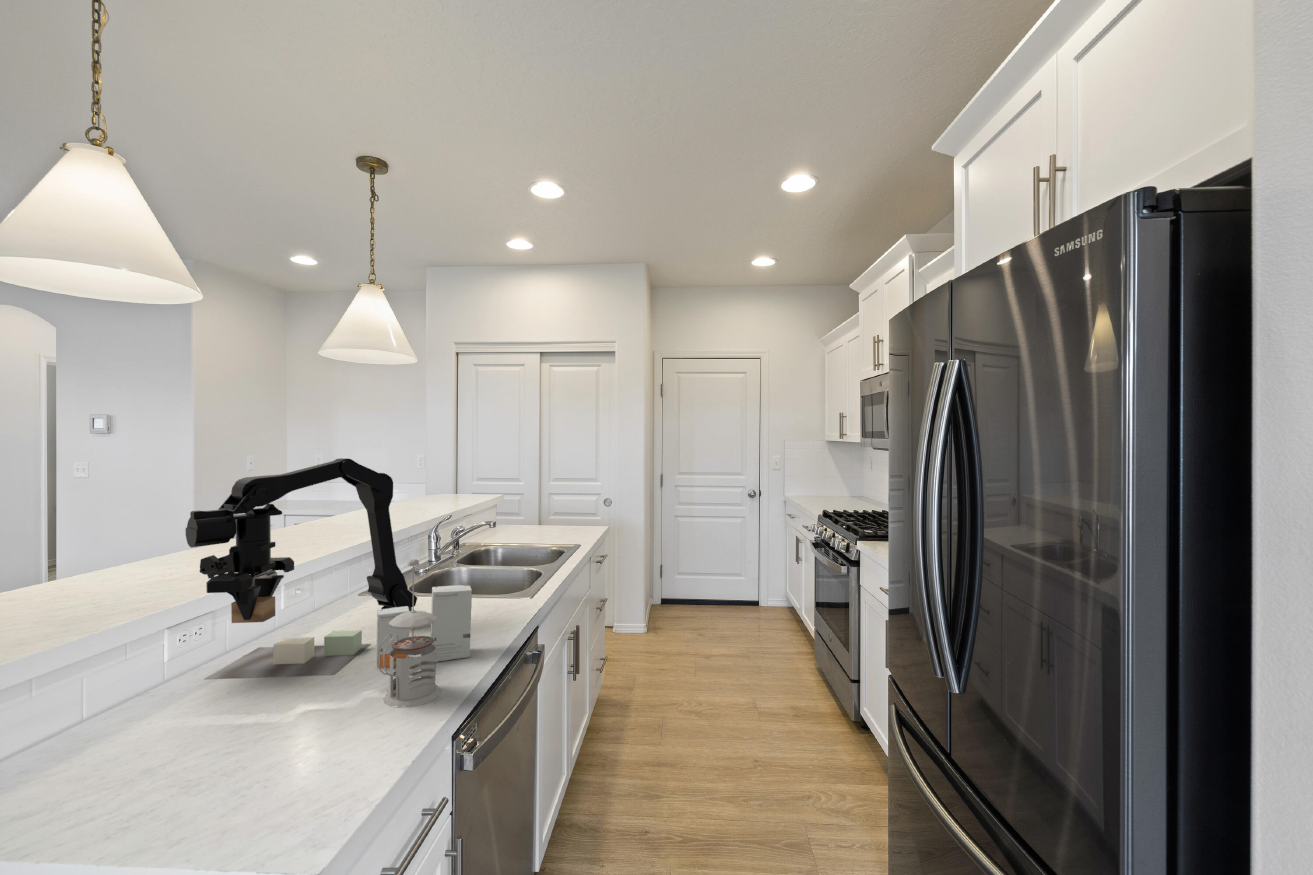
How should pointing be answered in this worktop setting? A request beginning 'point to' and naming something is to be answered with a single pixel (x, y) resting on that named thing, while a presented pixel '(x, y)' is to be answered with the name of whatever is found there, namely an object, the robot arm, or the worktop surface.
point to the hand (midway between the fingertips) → (254, 616)
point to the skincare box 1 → (384, 629)
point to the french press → (411, 660)
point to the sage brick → (342, 642)
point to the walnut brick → (255, 611)
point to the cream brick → (293, 650)
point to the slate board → (283, 665)
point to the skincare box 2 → (451, 621)
